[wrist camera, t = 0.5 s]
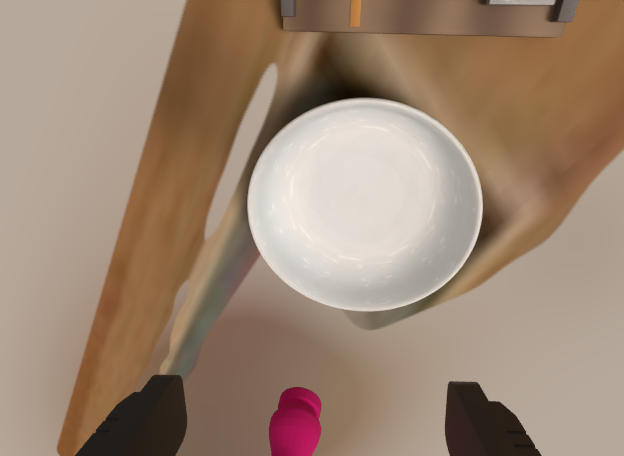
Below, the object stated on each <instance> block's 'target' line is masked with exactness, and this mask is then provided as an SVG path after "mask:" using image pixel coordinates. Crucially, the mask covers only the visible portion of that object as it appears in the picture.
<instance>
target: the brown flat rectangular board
mask: <svg viewBox="0 0 624 456" xmlns="http://www.w3.org/2000/svg"><path fill="white" fill-rule="evenodd" d="M486 1H487V0H281V16H283V30H284V31H305V32H346V33H386V34H426V35H467V36H507V37H547V38H555V37H562V35H563V32H564V29H565V25H566V22H572V21H573V18H574V15H575V11H576V8H577V5H578V1H579V0H555V3H554V5H551V6H497V5H486Z"/></svg>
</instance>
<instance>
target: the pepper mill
mask: <svg viewBox="0 0 624 456" xmlns="http://www.w3.org/2000/svg"><path fill="white" fill-rule="evenodd" d="M320 412H321V401H320V399H319V397H318V396H317V395H316V394H315V393H314V392H312V391H310V390H308V389H305V388H301V387H293V388H289V389H287V390H285V391H284V392H283V393H282V395H281V397H280V401H279V404H278V410H277V411H276V412H275V413H274V414H273V416H272V418H271V421H270V426H269V440H270V446H271V454H272V456H311V455H312V453H313V452H314V450H315V448H316V446H317V444H318V442H319V439H320V434H321V425H320V422H319V420H318V419H319V417H320Z"/></svg>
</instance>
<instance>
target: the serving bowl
mask: <svg viewBox="0 0 624 456" xmlns="http://www.w3.org/2000/svg"><path fill="white" fill-rule="evenodd" d="M482 211H483V201H482V190H481V185H480V181H479V177H478V174H477V171H476V169H475V166H474V164H473V162H472V160H471V158H470V156H469V155H468V153H467V151H466V150H465V148H464V147H463V145H462V144H461V143H460V142H459V140H458V139H457V138H456V137H455V136H454V135H453V134H452V133H451V132H450V131H449V130H448V129H447V128H446V127H445V126H444V125H443V124H441V123H440V122H439V121H437V120H436V119H434V118H433V117H431V116H430V115H428V114H426V113H424V112H422V111H420V110H418V109H416V108H414V107H412V106H409V105H407V104H403V103H400V102H396V101H392V100H387V99H380V98H351V99H343V100H338V101H334V102H330V103H327V104H324V105H321V106H318V107H316V108H313V109H311V110H309V111H307V112H305V113H303V114H302V115H300V116H298V117H297V118H295V119H294V120H292V121H291V122H290V123H288V124H287V125H286V126H285V127H283V128H282V129H281V130H280V131H279V132H278V133H277V134H276V135H275V136H274V137H273V138H272V140H271V141H270V142H269V143H268V145H267V146H266V147H265V149H264V150H263V152H262V154H261V155H260V157H259V159H258V161H257V163H256V165H255V167H254V170H253V173H252V176H251V179H250V183H249V189H248V198H247V212H248V220H249V225H250V229H251V233H252V236H253V239H254V241H255V244H256V246H257V248H258V250H259V252H260V253H261V255H262V257H263V258H264V260H265V261H266V263H267V264H268V265H269V266H270V268H271V269H272V270H273V271H274V272H275V274H276V275H277V276H278V277H279V278H281V279H282V280H283V281H284V282H285V283H286V284H288V285H289V286H290V287H292V288H293V289H294V290H296V291H297V292H299V293H301V294H302V295H304V296H306V297H308V298H310V299H312V300H315V301H317V302H319V303H322V304H325V305H328V306H332V307H335V308H340V309H346V310H354V311H381V310H389V309H394V308H398V307H401V306H405V305H408V304H411V303H413V302H416V301H418V300H420V299H422V298H424V297H426V296H428V295H430V294H431V293H433V292H435V291H436V290H438V289H439V288H440V287H442V286H443V285H444V284H445V283H447V282H448V281H449V280H450V279H451V278H452V277H453V276H454V275H455V274H456V273H457V272H458V271H459V269H460V268H461V267H462V266H463V264H464V263H465V261H466V260H467V258H468V257H469V255H470V253H471V251H472V249H473V247H474V245H475V242H476V240H477V237H478V234H479V231H480V226H481V221H482Z"/></svg>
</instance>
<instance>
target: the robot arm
mask: <svg viewBox="0 0 624 456" xmlns="http://www.w3.org/2000/svg"><path fill="white" fill-rule="evenodd" d="M186 428H187V413H186V404H185V396H184V388H183V381H182V378H181V376H180V375H154V376H152V377H151V379H150V380H149V381H148V382H147V384H146V385H145V386H144V388H143V389H142V390H141V392H134V393H132V394H131V395H129V396H128V397H127V398H125V399H124V400H123V401H121V402H120V403H118V404H117V405H116V407H115V408H114V409H113V410H112V411H111V413H110V414H109V415H108V416H107V418H106V420H105V421H103V422H102V424H101V425H100V426H99V427H98V428H97V430H96V433H93V434H92V436H91V437H90V438H89V439H88V440H87V442H86V443H85V444H84V445H83V447H82V448H81V449H80V450H79V451H78V453H77V454H76V455H75V456H175V455H176V453H177V451H178V449H179V447H180V446H181V444H182V442H183V439H184V437H185V433H186ZM445 436H446V443H447V447H448V451H449V454H450V456H541V454H540V453H539V451H538V449H536V448H535V445H534V443H533V442H532V440H531V439H530V437H529V436H528V435H527V434H526V431H525V429H524V428H523V426H522V425H521V423H520V422H519V420H518V418H517V417H516V415H514V414H513V413H512V412H511V411H510V410H509V409H507V408H506V407H505V406H504V405H503V404H501V403H500V402H495V401H488V399H487V397H486V396H485V394H484V392H483V391H482V389H481V387H480V385H479V384H478V383H477V382H453V381H450V382H449V384H448V390H447V404H446V418H445Z"/></svg>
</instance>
